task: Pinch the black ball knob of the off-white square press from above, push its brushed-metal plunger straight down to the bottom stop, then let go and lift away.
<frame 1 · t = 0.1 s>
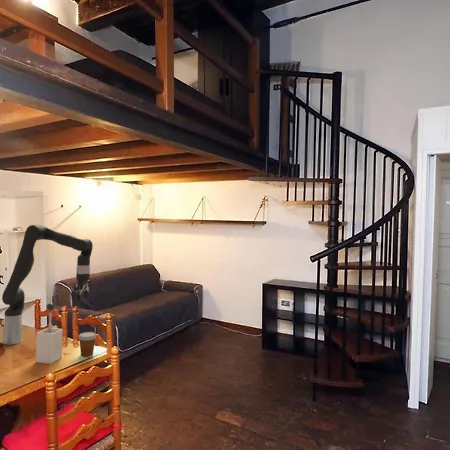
hand: (82, 299, 212), 29 cm above the table, tool pointing down, fingers open, 8 cm apart
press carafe: (48, 360, 193), on the table
teacup with lid: (49, 346, 215), on the table
plunger: (50, 319, 193), point 22 cm above the table, slide at 0.0 cm
disposable coffee cup: (86, 355, 202), on the table
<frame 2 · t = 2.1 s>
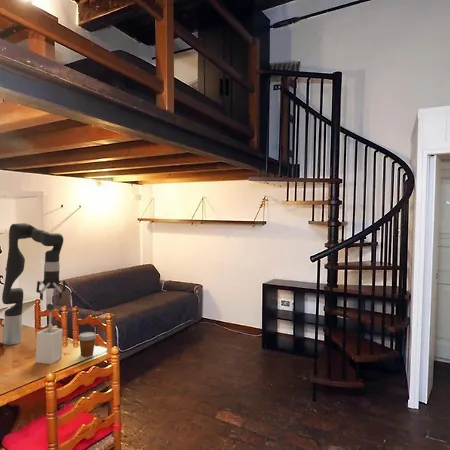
hand: (50, 299, 193), 33 cm above the table, tool pointing down, fingers open, 8 cm apart
nothing on the table moved.
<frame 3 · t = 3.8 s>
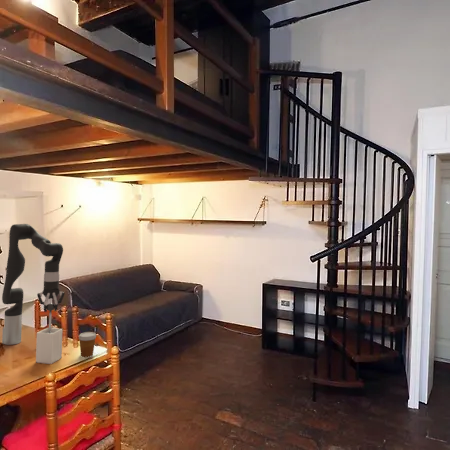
hand: (50, 311, 193), 27 cm above the table, tool pointing down, fingers closed on plunger, 4 cm apart
plunger: (50, 319, 193), point 22 cm above the table, slide at 0.0 cm, touching gripper
everything else where it was.
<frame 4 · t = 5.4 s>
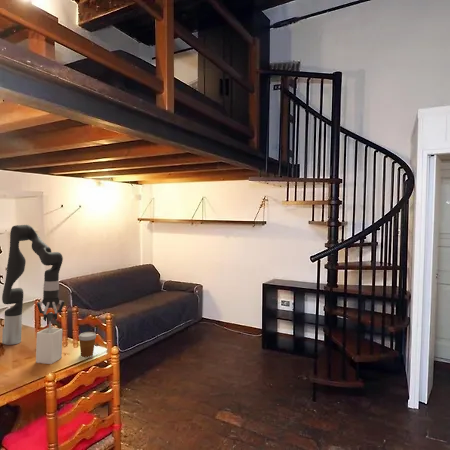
hand: (50, 320, 193), 22 cm above the table, tool pointing down, fingers closed on plunger, 4 cm apart
plunger: (49, 328, 193), point 17 cm above the table, slide at 5.0 cm, touching gripper
everything else where it was.
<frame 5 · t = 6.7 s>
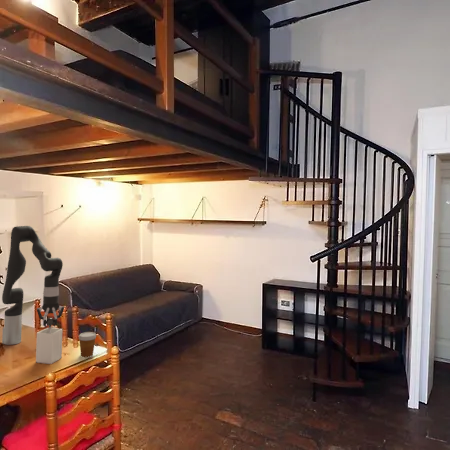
hand: (50, 325, 193), 19 cm above the table, tool pointing down, fingers closed on plunger, 4 cm apart
plunger: (49, 333, 193), point 14 cm above the table, slide at 8.1 cm, touching gripper
everything else where it was.
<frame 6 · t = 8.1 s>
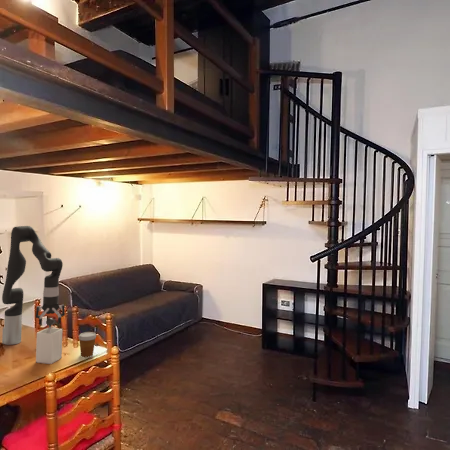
hand: (50, 324, 193), 19 cm above the table, tool pointing down, fingers open, 8 cm apart
plunger: (49, 333, 193), point 14 cm above the table, slide at 8.1 cm
everything else where it was.
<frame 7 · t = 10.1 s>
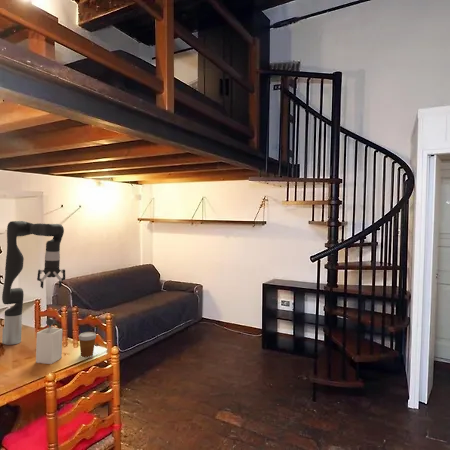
hand: (51, 287, 200), 38 cm above the table, tool pointing down, fingers open, 8 cm apart
nothing on the table moved.
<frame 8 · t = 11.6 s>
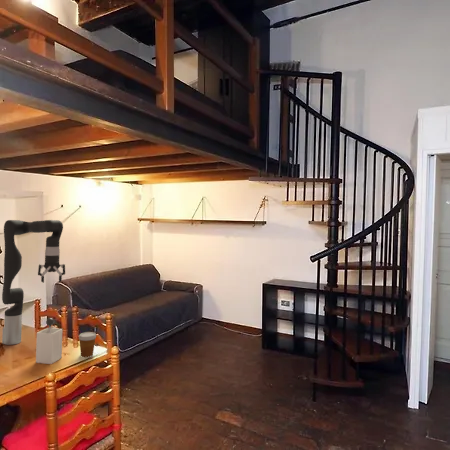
hand: (51, 282, 206), 40 cm above the table, tool pointing down, fingers open, 8 cm apart
nothing on the table moved.
at the end: plunger slide at 8.1 cm; the gripper is holding nothing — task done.
